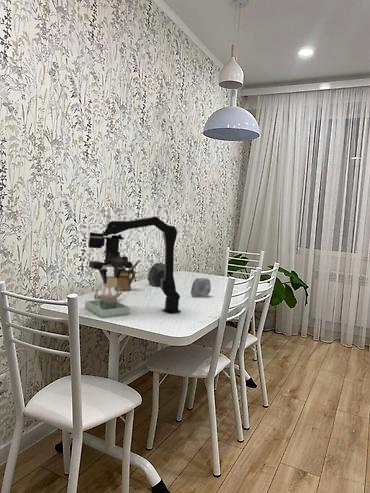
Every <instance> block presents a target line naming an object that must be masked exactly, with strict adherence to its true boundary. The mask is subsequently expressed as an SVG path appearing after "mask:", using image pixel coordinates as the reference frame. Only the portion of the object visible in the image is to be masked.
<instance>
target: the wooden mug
mask: <svg viewBox="0 0 370 493" xmlns="http://www.w3.org/2000/svg"><path fill="white" fill-rule="evenodd" d="M139 263H140V259H138V260H137V261H136V262H135V263H134V265H132V268H128V269H125V270H123V271H122V272H121V273H120V275H119V278H118V280H117V287H114V291H116V292H117V290H118V288H119V287H120V289H119V292H120V291H121V290H122V292H129V291H131V289H132V286H131V285H132V282H133V280H135V277H136V271H135V268H136V267H137V266H138V264H139Z"/></svg>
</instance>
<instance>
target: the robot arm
mask: <svg viewBox="0 0 370 493" xmlns="http://www.w3.org/2000/svg"><path fill="white" fill-rule="evenodd" d="M151 226H154V227H155V228H157V229H158V230H160V231H161V232H162V238H163V242H164V264H165V275H164V278H163V279H160V280H161V285H159V288H160V289H161V290H162V292H163V294H164V295H165V300H164V301H165V302H164V308H162V311H164V312H166V313H168V314H175V313H181V312H182V310H180V309H179V308H180V306H179V305H180V304H179V303H180V299H181V294H179V293H178V291H177V288H176V282H175V278H174V262H175V260H174V258H175V255H174V254H175V244H176V241H177V235H178V229H177V228H176V226H173V225H169V224H167V223H166V222H164V221H163V220H161V219H160V218H159V217H158V216H154V215H153V216H150V217H144V218H143V217H142V218H138V219H133V220H131V219H130V220H110V221H108V223H107V225H106V229H104V231H102V233H100V232H92V231H91V232H89V238H88V248H89V249H102V248H103V247H105V250H104V251H103V253H104V254H105V255H104V259H103V261H100V260H90V261H89V263H88V268H90V269H93V270H98V271H99V274H100V276H101V279H102V283H103V282H104V284H106V276H107V272H108V269H107V268H110V267H112V268H113V276H114V277H116V278H117V280H118V278H119V275H120V273H121V272H122V271H123V270H126V269H131V268H132V267H133V266H134V265H133V262H132V261H129V257H128V256H127V255H126V256H125V255H123V256H121V252H120V250H119V249H120V240H121V241H123V240H125V239H124V237H123V236H122V234H121V233H123V232H125V231H128V230H131V229H133V230H134V229H139V228H144V227H151ZM117 234H118V235H117ZM110 235H111V237H110Z"/></svg>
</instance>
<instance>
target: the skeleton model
mask: <svg viewBox="0 0 370 493" xmlns="http://www.w3.org/2000/svg"><path fill="white" fill-rule="evenodd" d="M119 289H120V287H119V288H118V290H117V291H116V292H115V294H114V296H116V297H117V298H118V297H119V296H120V295H122V294H123V291H122V290H121V291H119ZM111 290H112V287H108V290H107V291H108V294H107V295H112V291H111ZM98 292H99V290H98V289H97V290H96V291H95V292H94V297H95V300H100V296H101V295H105V293H106V288H105V287H104V288H103V290H102V292H101V294H99V293H98Z"/></svg>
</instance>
